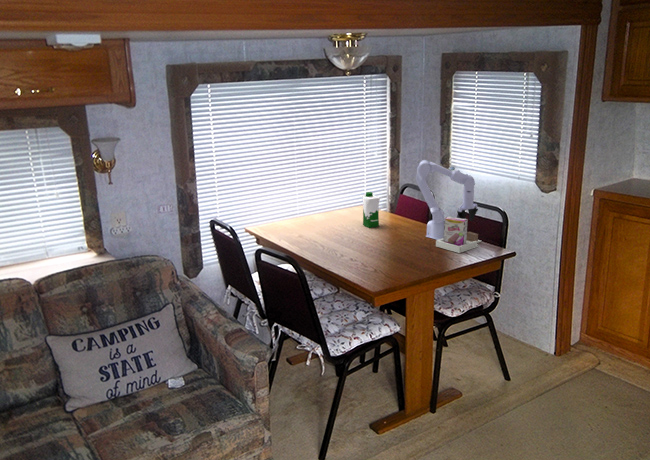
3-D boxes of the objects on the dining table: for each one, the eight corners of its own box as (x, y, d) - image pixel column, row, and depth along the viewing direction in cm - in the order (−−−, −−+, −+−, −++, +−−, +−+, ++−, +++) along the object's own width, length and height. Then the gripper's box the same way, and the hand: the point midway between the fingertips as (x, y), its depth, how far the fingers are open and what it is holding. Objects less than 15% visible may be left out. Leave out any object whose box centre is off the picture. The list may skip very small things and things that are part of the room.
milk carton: (373, 223, 366) (373, 191, 361) (381, 226, 359) (381, 194, 353) (360, 225, 362) (360, 192, 357) (368, 228, 355) (369, 195, 349)
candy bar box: (442, 248, 318) (444, 218, 313) (445, 245, 322) (447, 216, 317) (463, 251, 312) (464, 221, 308) (466, 248, 317) (467, 218, 312)
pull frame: (435, 246, 320) (436, 237, 319) (464, 237, 335) (465, 228, 334) (459, 253, 309) (459, 244, 308) (487, 243, 324) (488, 234, 323)
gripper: (465, 201, 320) (464, 226, 323) (482, 197, 329) (481, 221, 332) (455, 199, 325) (454, 223, 329) (471, 195, 334) (470, 218, 338)
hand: (466, 222), depth 331 cm, fingers open, 7 cm apart
